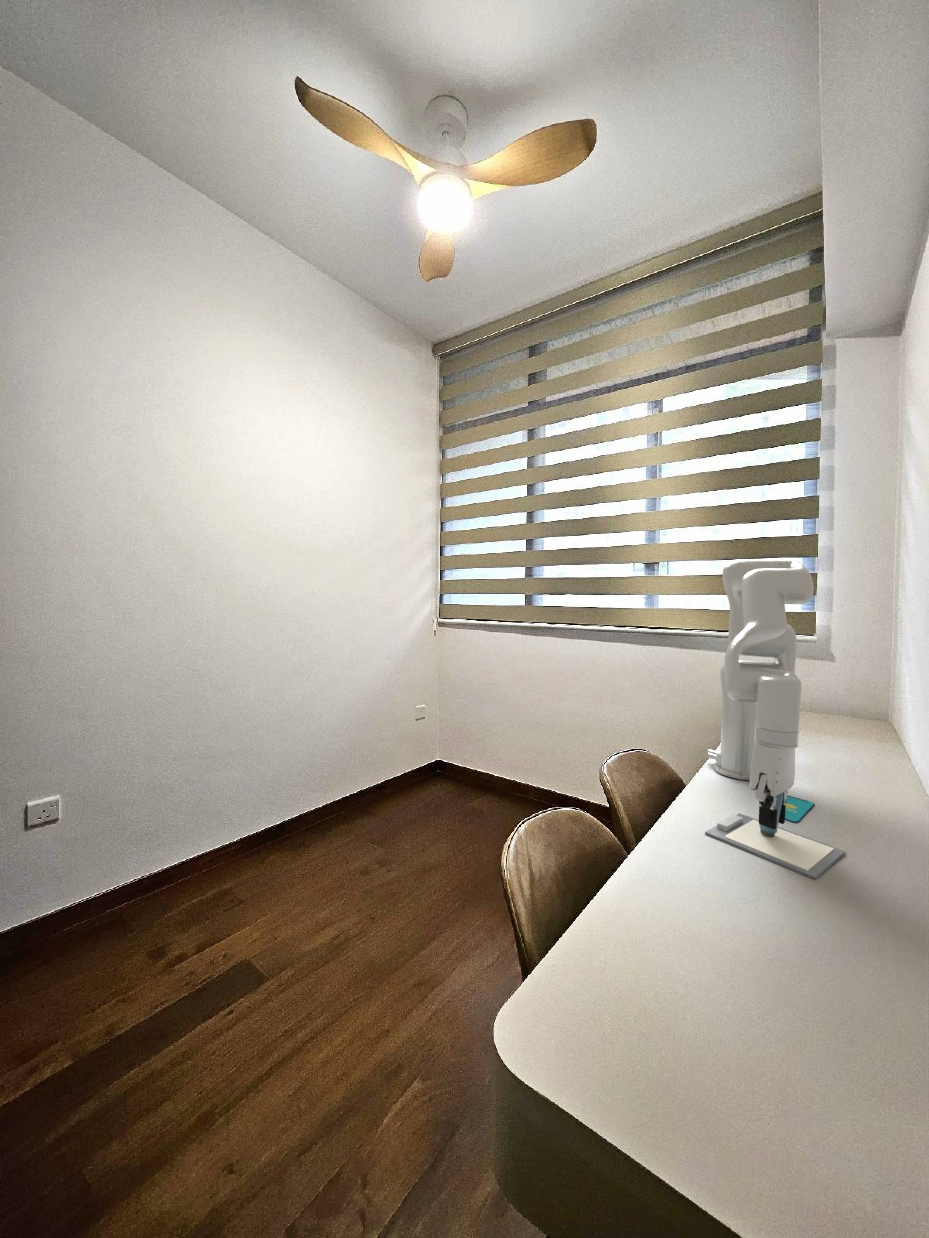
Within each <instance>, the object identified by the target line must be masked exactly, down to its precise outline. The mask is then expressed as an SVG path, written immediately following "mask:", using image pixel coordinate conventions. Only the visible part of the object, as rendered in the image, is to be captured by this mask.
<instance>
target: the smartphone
mask: <svg viewBox="0 0 929 1238" xmlns="http://www.w3.org/2000/svg"><path fill="white" fill-rule="evenodd" d="M784 805H786V811H785V822H786V821H787V822H790V823H793V824H798V823H799V822H800V821H801V820H803V818H804V817H805V816H806V815H807V814H808V812H810V811H811V810H812V809H813V808H814V806H815V803H814V802H813V801H811V800H810V801H808V800H805V799H802V798H799V797H795V796H791V795H788V794H787V802H786V804H784Z"/></svg>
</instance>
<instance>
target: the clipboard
mask: <svg viewBox="0 0 929 1238" xmlns="http://www.w3.org/2000/svg"><path fill="white" fill-rule="evenodd" d="M704 834H705V835H707V836H709V837H712V838H714V839H716V840H717V841H718V840H719V841H721V842H723V843H726V844H728V845H730V846H733V847H734V848H735V847H736V848H738V849H740V850H742V851H745V852H747V853H749V854H752V855H755V856H758V857H759V858H762V859H764V860H767V861H769V862H771V863H774V864H775V865H776V864H777V865H779V866H782V867H784V868H786V869H788V870H790V871H794V872H796V873H798V874H799V875H800V874H801V875H803V876H805V877H808V878H810V879H813V880H816V879H818V878H819V877H820V876H821V875H822V874H823V873H825V872H826V871H827V870H828V869H829V868H831V867H832V866H833V865H834V864H835V863H836V862H837V861H839V860H840V859H841V858H842V857H843V856H844V855H845V854H846V851H845V850H844V849H840V848H837V847H834V846H832V845H829V844H826V843H823V842H820V841H818V840H815V839H813V838H809V837H808V836H804V835H801V834H798V833H796V832H794V831H791V830H787V829H784V828H782V827H779V826H778V829H777V833H775V836H774V837H768V836H765V835H763V834H762V833H761V832H760V827H759V819H757V818H754V817H751V816H749V815H745V814H743V813H740V812H739V813H737V814H731V815H730V816H727V817H725V818H724V819H721V820H719V822H717V825H715V826H712V827H711V828H709V829H708V830H706V831H705V832H704Z"/></svg>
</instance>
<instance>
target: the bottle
mask: <svg viewBox="0 0 929 1238" xmlns="http://www.w3.org/2000/svg"><path fill="white" fill-rule="evenodd" d="M767 792H771V791H770V790H767ZM783 794H784V792H783V793H781V794H779V795H777V798H776V808H775V809H776V810H777V828H776V829H771V828H768V827H766V826H763V825H760V824H759V827H760V832H761V833H762V834H763V835H765V836H768V837H774V836H775V833H777V829H778V827H779V824H780V823H779V817H780V812H781V806H782V800H783ZM766 797H767V798H769V799H770V801H771V797H769V796H766Z"/></svg>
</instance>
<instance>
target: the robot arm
mask: <svg viewBox="0 0 929 1238" xmlns="http://www.w3.org/2000/svg"><path fill="white" fill-rule="evenodd" d="M722 584H723V588H724V591H725V594H726V597H727V599H728V604H729V620H728V638H727V639H728V640H727V641H728V645H727V646H728V647H727V648H726V652H725V657H724V664H722V666H721V668H720V674H719V675H720V677H719V678H720V685H721V694H722V695H721V696H722V697H721V698H722V705H721V707H722V708H721V709H722V710H721V729H720V732H721V733H720V751H716V750H713V749H711V748H710V749H708V750H707V752H706V754H707V758H709V759H712V760H715V762H714V763H713V770H714V771H716V773H718V774H721V775H723V776H725V777H728V778H731V779H736V780H743V781H749V789H750V790H751V791H756V793H755V800H756V801H758V806H759V808H758V820H759V824H760V825H763V826H766V827H768V828H771V829H776V828H777V810H776V809H775V808H776V798H777V795H779V794H781V793H783V792H784V794H783V800H782V806H781V812H780V817H779V823H778V824H781V825H784V824H785V823H786V820H785V811H786V805H784V804H786V802H787V795H788V791H789V790H790V789H792V787H793V786H794V784H795V776H796V749H798V748H799V737H800V736H799V734H800V719H801V718H800V717H801V716H800V715H801V702H802V701H801V697H802V681H801V679H799V677H798V676H797V674H795V673H796V657H797V635H796V632H795V629H794V628H793V626H791V625H790V624H789V623H787V615H786V613H787V612H786V606H785V605H805V604H807V603H808V602H810V601H811V600H812V597H813V595H814V587H815V586H814V580H813V576H812V575H811V573H810V571H809V570H808V568H807V567H806V566H804V565H803V564H802V563H801V562H800V561H799V560H796V559H791V558H780V559H779V558H777V559H776V558H773V559H772V558H771V559H770V558H769V559H767V558H766V559H764V558H753V559H752V558H751V559H748V558H747V559H746V558H745V559H744V558H743V559H735V560H731V561H729V562H727V563H725V565H724V566H723V569H722ZM741 656H742V657H752V658H753V657H755V658H770V659H773V660H774V661H773V662H772V661H759V660H747V659H746V660H744V659H743V660H742V659H740V657H741ZM767 790H770V791H771V792H767ZM766 796H769V797H771V801H770V799H769V798H767V797H766Z"/></svg>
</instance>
